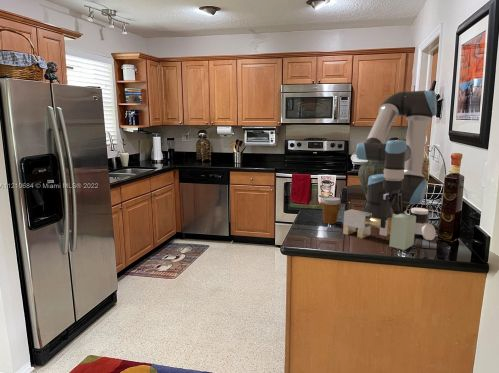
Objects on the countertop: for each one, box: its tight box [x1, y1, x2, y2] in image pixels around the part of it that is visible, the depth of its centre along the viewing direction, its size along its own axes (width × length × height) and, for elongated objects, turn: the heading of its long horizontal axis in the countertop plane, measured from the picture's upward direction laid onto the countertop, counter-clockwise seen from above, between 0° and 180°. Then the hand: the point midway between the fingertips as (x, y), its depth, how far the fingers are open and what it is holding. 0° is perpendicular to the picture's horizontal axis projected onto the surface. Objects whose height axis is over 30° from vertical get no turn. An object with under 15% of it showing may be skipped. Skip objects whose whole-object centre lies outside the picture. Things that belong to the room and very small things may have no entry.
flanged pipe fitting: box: [409, 207, 437, 241], centre depth 157 cm, size 12×11×12 cm
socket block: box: [388, 212, 416, 251], centre depth 145 cm, size 9×6×12 cm, turn 135°
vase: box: [357, 160, 385, 200], centre depth 218 cm, size 22×22×30 cm
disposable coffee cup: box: [320, 196, 342, 225], centre depth 178 cm, size 10×10×12 cm
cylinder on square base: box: [365, 216, 392, 235], centre depth 152 cm, size 5×20×6 cm, turn 45°
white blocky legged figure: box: [342, 208, 372, 239], centre depth 159 cm, size 7×10×10 cm
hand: (389, 232), depth 149 cm, fingers open, 10 cm apart
